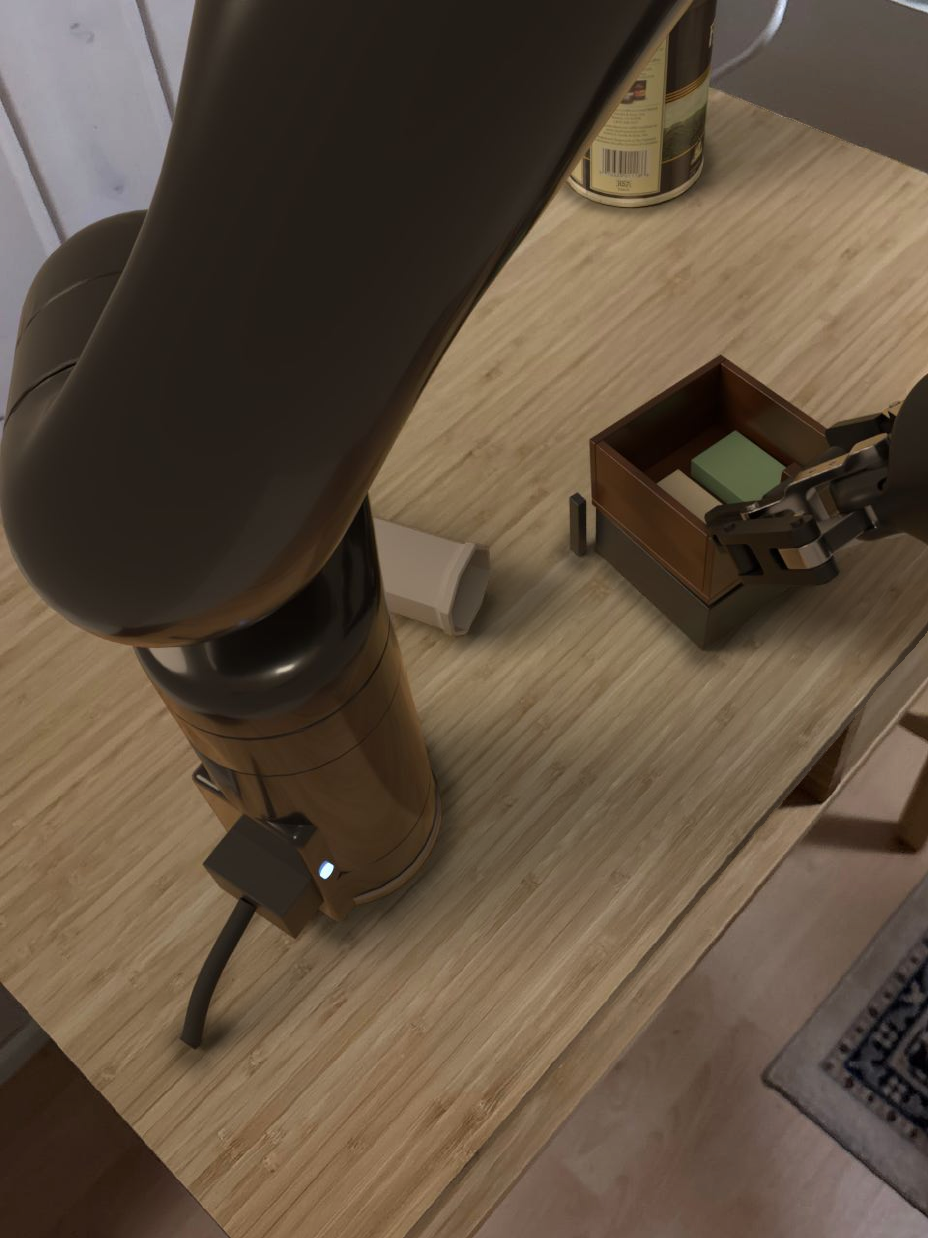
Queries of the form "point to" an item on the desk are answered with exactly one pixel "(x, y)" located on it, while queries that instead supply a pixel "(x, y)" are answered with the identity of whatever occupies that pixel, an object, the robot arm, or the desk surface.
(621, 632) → the desk surface
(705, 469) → the block
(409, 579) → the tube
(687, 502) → the block
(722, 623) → the stand
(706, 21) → the coffee can
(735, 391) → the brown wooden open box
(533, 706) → the desk surface
